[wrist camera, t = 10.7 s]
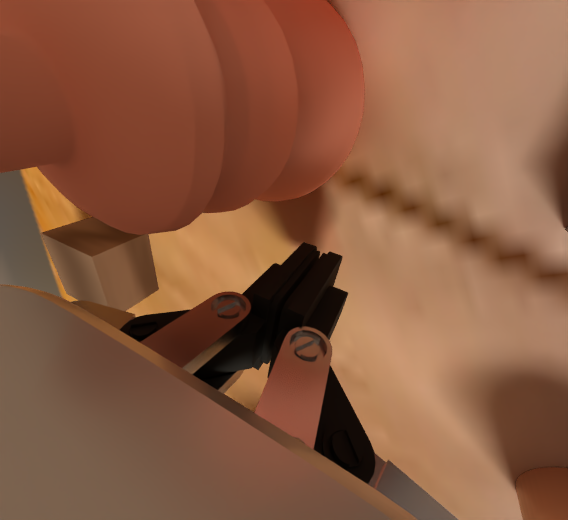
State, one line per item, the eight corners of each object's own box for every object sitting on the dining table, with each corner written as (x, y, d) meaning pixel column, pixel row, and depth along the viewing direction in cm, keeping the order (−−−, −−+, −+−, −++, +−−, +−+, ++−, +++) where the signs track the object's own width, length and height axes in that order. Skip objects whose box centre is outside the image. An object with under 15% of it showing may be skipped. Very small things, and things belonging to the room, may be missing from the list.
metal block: (149, 232, 18) (91, 256, 15) (160, 288, 21) (112, 319, 18) (101, 214, 20) (40, 233, 17) (116, 268, 23) (66, 293, 20)
